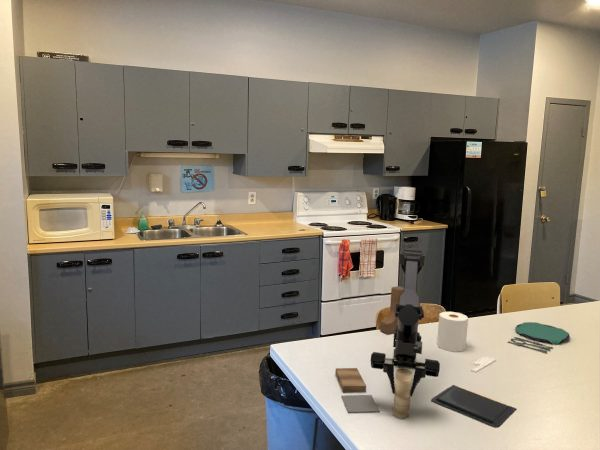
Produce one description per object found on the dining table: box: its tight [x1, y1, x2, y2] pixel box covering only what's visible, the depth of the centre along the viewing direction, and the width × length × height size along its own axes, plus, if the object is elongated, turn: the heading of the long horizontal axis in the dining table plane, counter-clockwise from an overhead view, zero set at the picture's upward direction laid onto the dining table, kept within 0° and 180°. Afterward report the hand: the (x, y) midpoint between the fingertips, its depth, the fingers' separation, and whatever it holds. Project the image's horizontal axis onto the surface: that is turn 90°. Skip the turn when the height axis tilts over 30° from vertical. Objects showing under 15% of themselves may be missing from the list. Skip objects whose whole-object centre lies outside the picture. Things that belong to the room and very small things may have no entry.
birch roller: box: [392, 367, 413, 420], centre depth 132 cm, size 4×4×12 cm
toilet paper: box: [436, 311, 469, 353], centre depth 182 cm, size 10×10×12 cm
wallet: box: [430, 384, 518, 429], centre depth 140 cm, size 20×2×15 cm
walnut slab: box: [334, 367, 367, 394], centre depth 151 cm, size 12×7×2 cm, turn 7°
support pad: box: [341, 394, 381, 414], centre depth 138 cm, size 9×9×1 cm
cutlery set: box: [507, 321, 571, 354], centre depth 195 cm, size 20×30×2 cm, turn 136°
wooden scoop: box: [379, 285, 404, 335], centre depth 195 cm, size 9×4×18 cm, turn 119°
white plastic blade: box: [470, 355, 497, 374], centre depth 168 cm, size 5×15×1 cm, turn 133°
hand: (402, 394), depth 131 cm, fingers closed on birch roller, 4 cm apart
